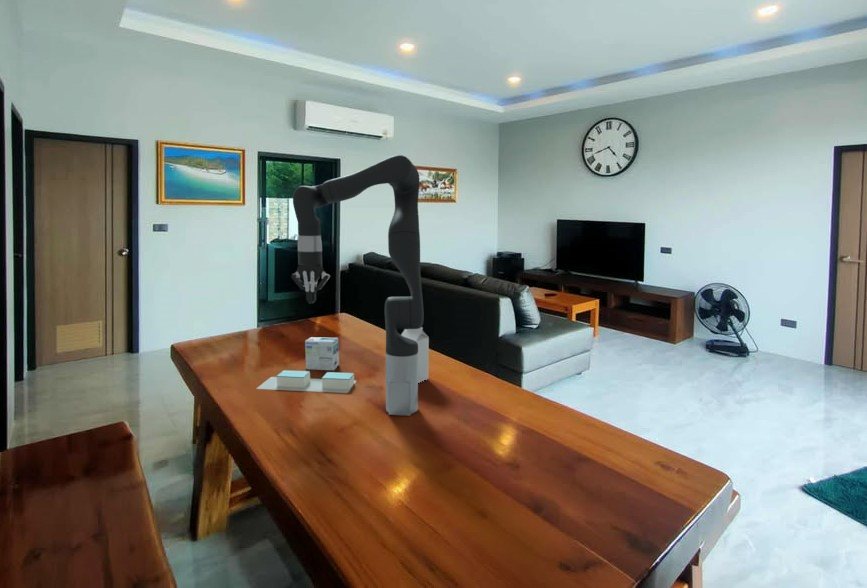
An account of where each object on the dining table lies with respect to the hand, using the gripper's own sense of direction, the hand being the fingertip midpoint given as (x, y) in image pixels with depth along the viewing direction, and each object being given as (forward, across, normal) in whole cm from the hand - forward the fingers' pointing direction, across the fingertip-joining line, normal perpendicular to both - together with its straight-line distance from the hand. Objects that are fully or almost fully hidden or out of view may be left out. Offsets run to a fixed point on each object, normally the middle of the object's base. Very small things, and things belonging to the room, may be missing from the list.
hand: (311, 302), depth 168 cm
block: (+25, +5, -3) cm, 26 cm away
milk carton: (+27, +33, +6) cm, 43 cm away
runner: (+27, -1, -3) cm, 27 cm away
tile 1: (+25, -10, -3) cm, 27 cm away
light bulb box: (+27, -2, +16) cm, 32 cm away
